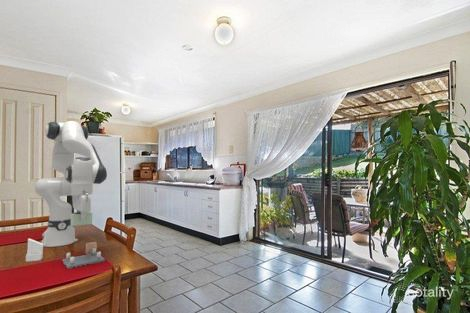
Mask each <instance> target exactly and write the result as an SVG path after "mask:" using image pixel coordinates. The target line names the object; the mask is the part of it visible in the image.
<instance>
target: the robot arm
mask: <svg viewBox="0 0 470 313" xmlns="http://www.w3.org/2000/svg"><path fill="white" fill-rule="evenodd" d="M44 133H45V136H46V137H47V139H49V140H53V141H54V143H53V146H52V147H53V148H52V153H51V154H52V158H51V167H52V169H53V170H54V171H56V172H59V173H61V174H63V177H62V176H61V177H44V178H40V179H38V180H37V181H36V182H35V183H34V191H35V193H36V194H37V195H38V197H40V198H42V199H44V201H45V202H46V204H47V206H48V214H49V215H48V218H49V219H48V221H47V229H46V230H45V231H44V232H43V233H42V236H41V237H42V238H43V239H41V241H40V243H42V244H43V247H48V248H49V247H50V248H52V247H54V248H55V247H63V246H68V245H71V244H73V243H75V242H78V241H79V239H78V238H77V237H76V232H75V230H76V228H75V226H72V225H71V214H73V213H72V212H73V211H72V210H73V209H74V210H76V212H81V217H80V221H85V217H86V212H91V209H92V203H91V202H92V198H91V196H90V195H93V188H94V186H93V185H94V184H96V185H100V184H102V183H103V182H104V181H106V180H107V178H108V173H107V168H106V167H105V165H104V164H103V162H102V161H101V158H100V155H99V154H98V152H97V150H96V148H95V146H94V145H93V144H92V143H91V142H89V141H88V138H89V135H90V134H89V129H88V127H86V126H85V125H82V124H80V123H79V122H78V121H75V120H68V121H65V122H57V121H50V122H48V123H47V124H46V126H45V128H44ZM75 154H77V155H81V156H79V157H75ZM63 196H64V197H65V196H66V197H68V196H69V197H70V196H71V198H72V205H71V203H69V202H67V201H65V200H62V199H61V198H60V197H63ZM72 208H73V209H72Z"/></svg>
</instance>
